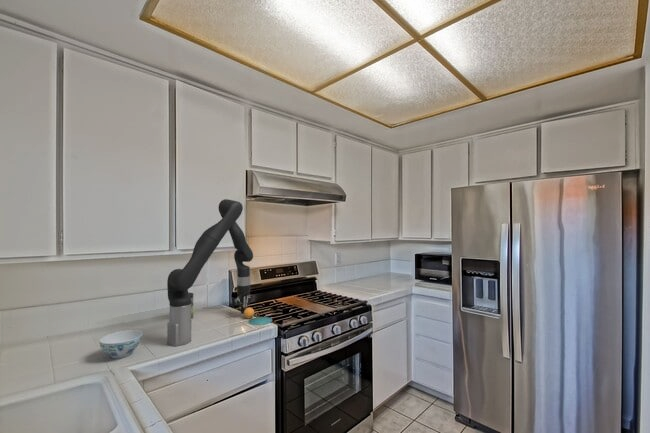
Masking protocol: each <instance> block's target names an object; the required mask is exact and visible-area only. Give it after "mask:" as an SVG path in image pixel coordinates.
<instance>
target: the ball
mask: <svg viewBox="0 0 650 433" xmlns="http://www.w3.org/2000/svg"><path fill="white" fill-rule="evenodd" d="M254 315H255V310H254V309H253V307H246V309H245V310H244V314H243V316H244V318H245V319H252V318H254Z"/></svg>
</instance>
